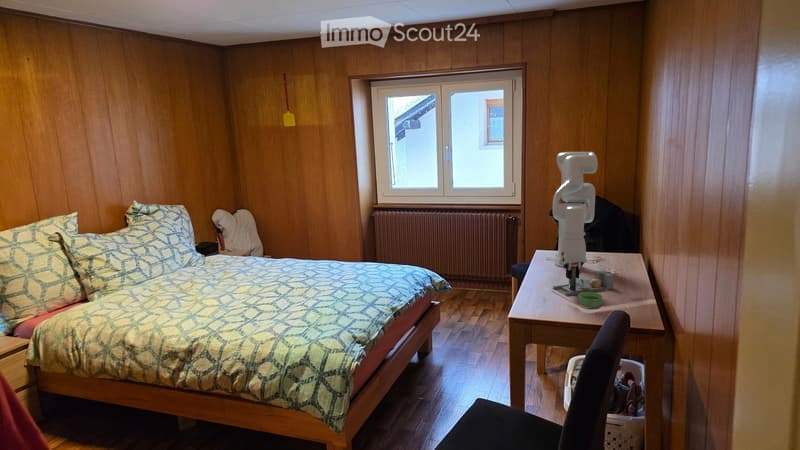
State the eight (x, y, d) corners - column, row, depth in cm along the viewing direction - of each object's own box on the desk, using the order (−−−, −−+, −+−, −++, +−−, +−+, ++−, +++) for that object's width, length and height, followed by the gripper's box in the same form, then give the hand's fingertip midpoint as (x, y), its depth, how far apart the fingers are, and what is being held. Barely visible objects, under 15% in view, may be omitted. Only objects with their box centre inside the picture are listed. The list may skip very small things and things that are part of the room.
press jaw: (561, 288, 213) (561, 262, 211) (579, 285, 215) (580, 260, 213) (570, 293, 207) (571, 266, 204) (589, 290, 209) (590, 264, 207)
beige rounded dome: (589, 286, 215) (589, 279, 215) (597, 285, 216) (597, 278, 216) (595, 289, 211) (595, 282, 211) (603, 288, 212) (603, 280, 212)
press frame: (551, 291, 215) (552, 274, 214) (598, 285, 221) (599, 268, 220) (567, 300, 204) (568, 282, 202) (617, 293, 210) (618, 276, 209)
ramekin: (574, 303, 200) (574, 292, 199) (595, 301, 201) (596, 291, 200) (584, 311, 192) (584, 300, 191) (606, 309, 192) (607, 298, 191)
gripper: (585, 232, 212) (583, 273, 215) (551, 235, 208) (550, 277, 211) (596, 235, 205) (594, 278, 208) (562, 239, 200) (560, 282, 204)
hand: (572, 277), depth 210 cm, fingers closed on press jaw, 2 cm apart
